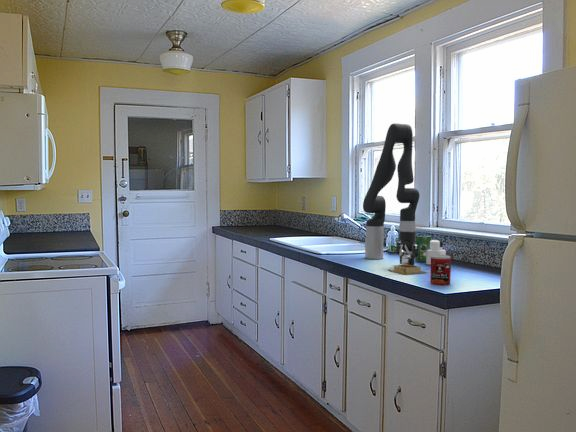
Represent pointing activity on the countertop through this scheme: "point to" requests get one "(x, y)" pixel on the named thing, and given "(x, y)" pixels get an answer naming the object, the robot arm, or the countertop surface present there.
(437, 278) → the canned food
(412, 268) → the collar
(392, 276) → the countertop surface
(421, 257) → the coffee box
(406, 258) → the cylinder
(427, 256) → the medicine bottle
